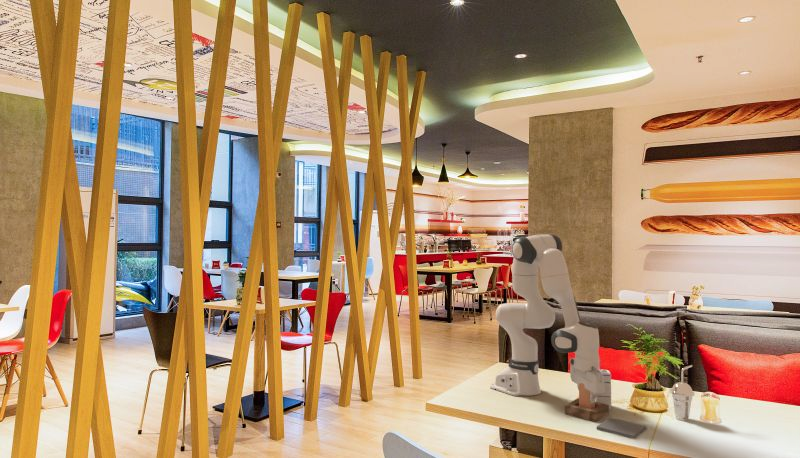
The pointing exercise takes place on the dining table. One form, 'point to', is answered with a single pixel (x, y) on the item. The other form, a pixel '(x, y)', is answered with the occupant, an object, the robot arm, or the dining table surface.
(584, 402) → the terracotta peg
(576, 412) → the socket holder
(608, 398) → the syrup box
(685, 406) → the cup with straw
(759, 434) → the dining table surface
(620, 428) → the slate mat
